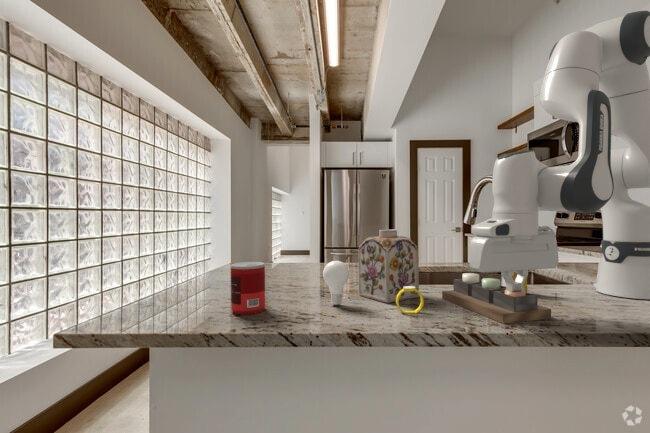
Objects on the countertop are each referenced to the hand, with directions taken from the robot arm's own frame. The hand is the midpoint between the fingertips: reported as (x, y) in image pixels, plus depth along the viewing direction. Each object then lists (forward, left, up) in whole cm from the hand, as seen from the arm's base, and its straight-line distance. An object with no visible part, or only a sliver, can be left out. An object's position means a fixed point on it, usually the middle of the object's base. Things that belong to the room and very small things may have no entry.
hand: (514, 290), depth 81 cm
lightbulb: (+34, -21, -6) cm, 40 cm away
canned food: (+55, -23, -6) cm, 60 cm away
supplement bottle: (-16, -18, -6) cm, 24 cm away
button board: (0, -8, -6) cm, 9 cm away
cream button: (0, -15, -2) cm, 15 cm away
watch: (+20, -10, -6) cm, 23 cm away
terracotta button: (0, 0, -3) cm, 3 cm away
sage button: (0, -8, -2) cm, 8 cm away
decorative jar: (+18, -26, -6) cm, 32 cm away
